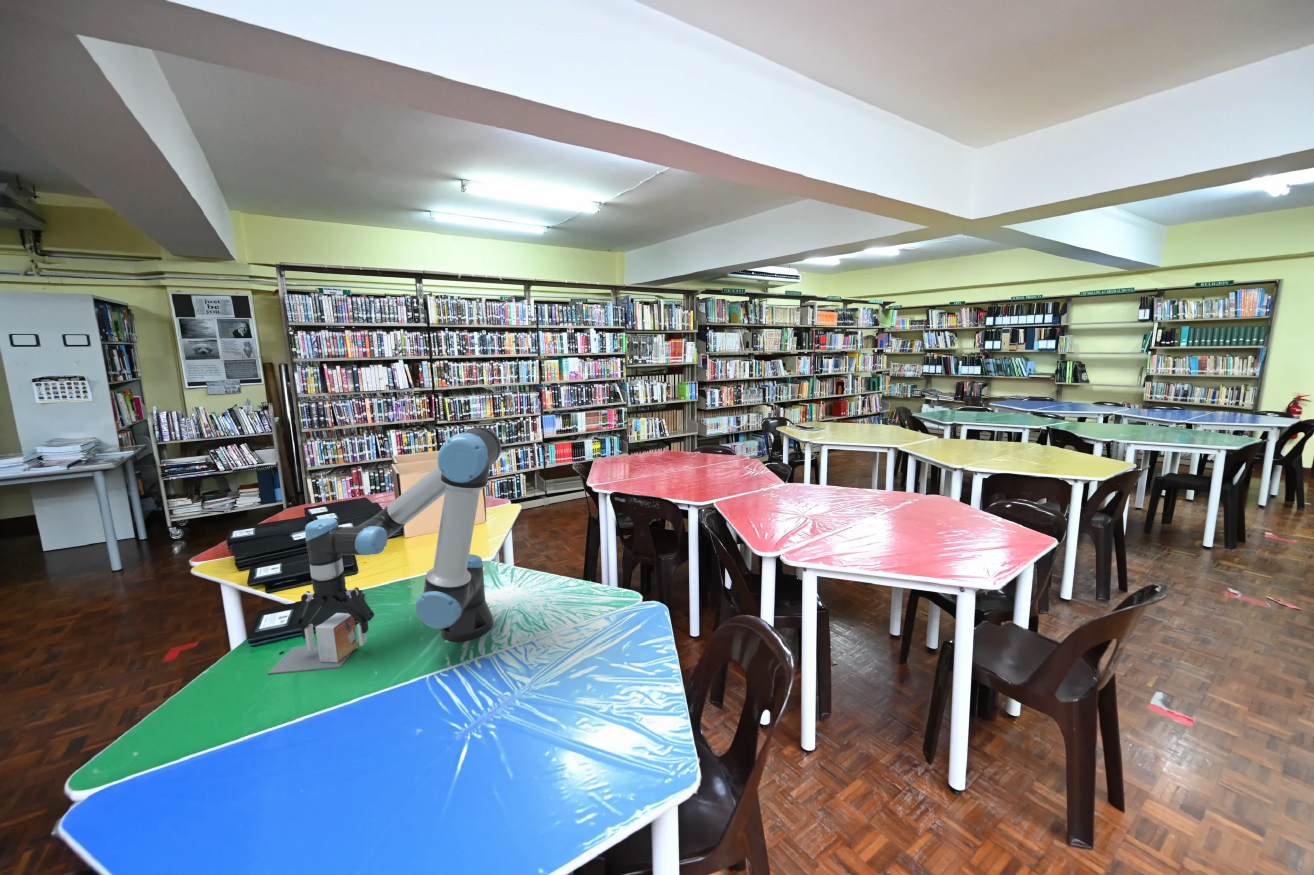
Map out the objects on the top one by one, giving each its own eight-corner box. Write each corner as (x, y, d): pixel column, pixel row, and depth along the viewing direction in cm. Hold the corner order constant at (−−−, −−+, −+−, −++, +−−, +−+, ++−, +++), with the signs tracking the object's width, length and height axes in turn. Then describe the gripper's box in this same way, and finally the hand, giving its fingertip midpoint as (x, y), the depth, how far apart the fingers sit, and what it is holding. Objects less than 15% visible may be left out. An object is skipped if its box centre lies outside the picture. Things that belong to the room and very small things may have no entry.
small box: (337, 663, 137) (332, 628, 135) (319, 662, 138) (314, 627, 136) (358, 646, 145) (354, 613, 143) (341, 645, 146) (336, 612, 144)
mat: (359, 642, 148) (359, 641, 148) (340, 667, 136) (340, 666, 136) (293, 648, 145) (292, 647, 145) (267, 674, 134) (267, 673, 133)
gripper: (381, 565, 143) (389, 633, 146) (286, 572, 139) (296, 641, 143) (370, 577, 135) (379, 648, 139) (269, 584, 132) (281, 657, 136)
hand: (337, 645), depth 141 cm, fingers open, 13 cm apart
